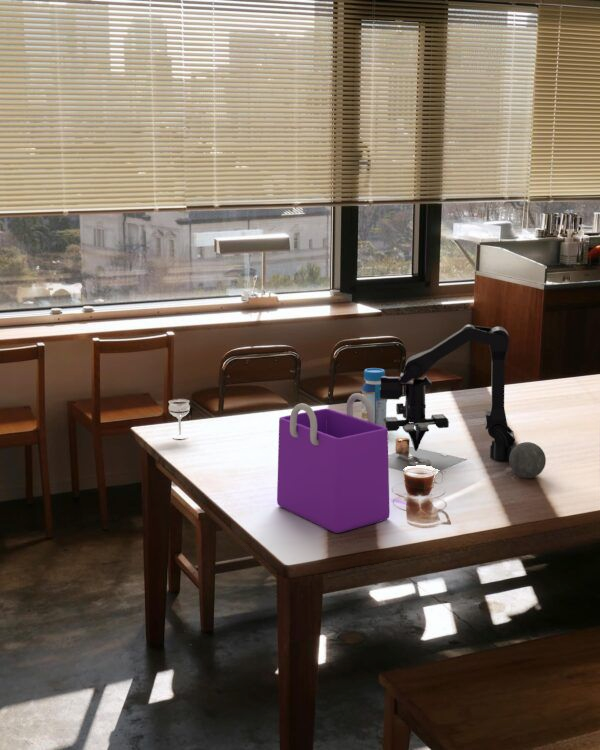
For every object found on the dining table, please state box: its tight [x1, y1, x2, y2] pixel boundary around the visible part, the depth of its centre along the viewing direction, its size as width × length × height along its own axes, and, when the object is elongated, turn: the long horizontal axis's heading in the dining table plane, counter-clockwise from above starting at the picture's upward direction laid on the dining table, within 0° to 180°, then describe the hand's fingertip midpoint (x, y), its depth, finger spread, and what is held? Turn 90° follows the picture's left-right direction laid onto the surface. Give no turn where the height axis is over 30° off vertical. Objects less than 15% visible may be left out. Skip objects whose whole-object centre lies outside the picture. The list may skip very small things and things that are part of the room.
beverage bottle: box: [361, 367, 388, 426], centre depth 333 cm, size 8×8×20 cm
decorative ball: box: [508, 441, 547, 479], centre depth 286 cm, size 10×10×10 cm
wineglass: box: [168, 398, 191, 436], centre depth 326 cm, size 7×7×12 cm
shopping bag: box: [276, 392, 390, 534], centre depth 257 cm, size 28×22×30 cm
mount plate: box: [388, 446, 467, 472], centre depth 299 cm, size 20×21×1 cm
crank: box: [395, 437, 431, 466], centre depth 297 cm, size 15×6×5 cm, turn 25°
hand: (415, 450), depth 303 cm, fingers closed
